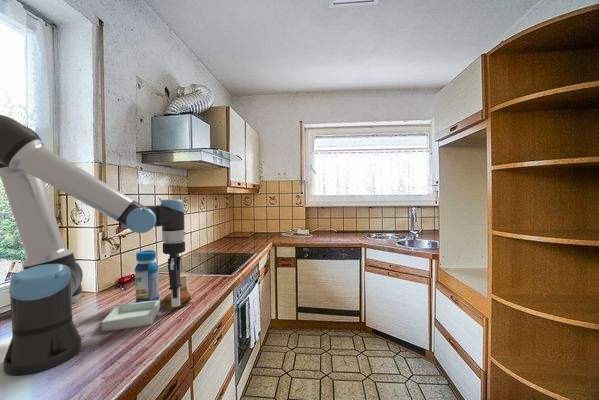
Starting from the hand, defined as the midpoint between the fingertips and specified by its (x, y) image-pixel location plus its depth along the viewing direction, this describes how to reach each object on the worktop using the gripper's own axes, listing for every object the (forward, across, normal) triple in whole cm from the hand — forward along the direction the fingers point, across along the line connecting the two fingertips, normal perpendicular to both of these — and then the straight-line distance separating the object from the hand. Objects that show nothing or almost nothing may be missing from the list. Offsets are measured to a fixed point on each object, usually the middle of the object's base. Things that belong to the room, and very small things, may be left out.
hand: (176, 305), depth 101 cm
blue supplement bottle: (+2, +12, +12) cm, 17 cm away
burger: (+2, +6, 0) cm, 6 cm away
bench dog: (+2, +14, 0) cm, 15 cm away
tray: (+2, -3, +13) cm, 13 cm away
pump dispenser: (+2, +21, +43) cm, 48 cm away
